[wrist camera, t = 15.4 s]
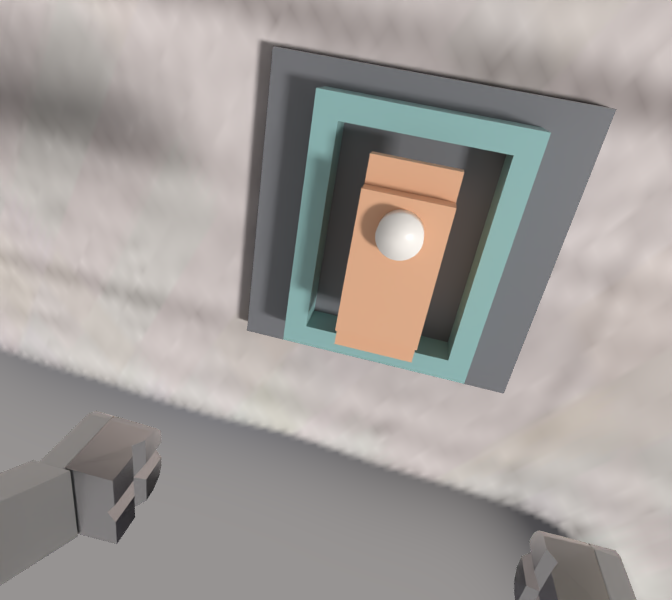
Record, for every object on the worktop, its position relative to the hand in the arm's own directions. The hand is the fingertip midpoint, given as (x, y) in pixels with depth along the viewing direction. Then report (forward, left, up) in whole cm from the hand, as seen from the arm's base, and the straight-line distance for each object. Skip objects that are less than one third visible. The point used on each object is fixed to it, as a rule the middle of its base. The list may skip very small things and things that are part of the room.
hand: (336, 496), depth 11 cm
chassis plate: (0, 0, -19) cm, 19 cm away
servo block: (0, 0, -18) cm, 18 cm away
